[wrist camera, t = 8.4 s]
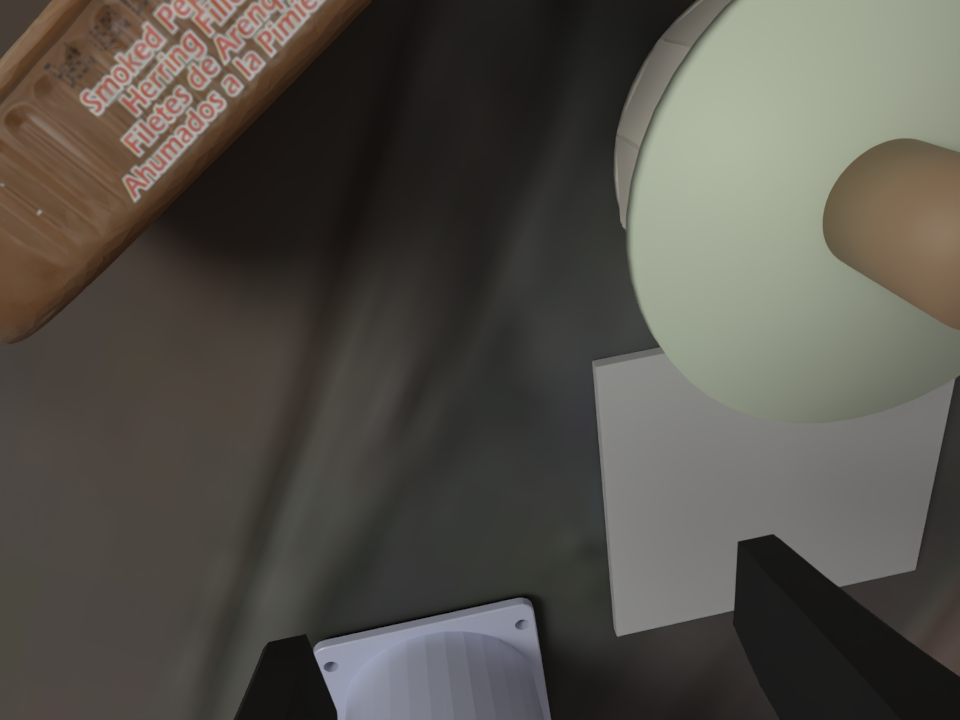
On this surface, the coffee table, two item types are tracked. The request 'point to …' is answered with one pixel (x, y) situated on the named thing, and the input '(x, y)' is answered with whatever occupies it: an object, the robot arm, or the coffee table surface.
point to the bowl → (655, 89)
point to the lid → (806, 208)
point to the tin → (128, 125)
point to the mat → (748, 489)
